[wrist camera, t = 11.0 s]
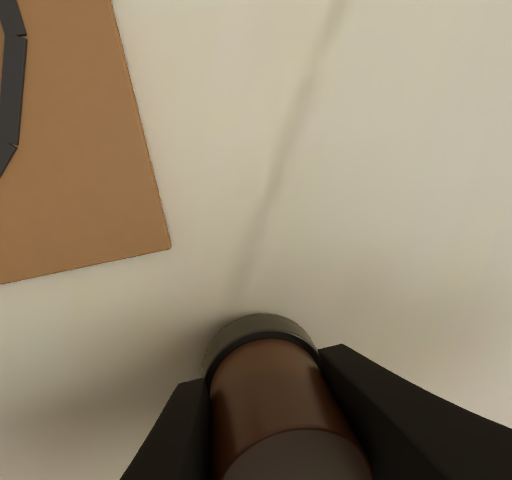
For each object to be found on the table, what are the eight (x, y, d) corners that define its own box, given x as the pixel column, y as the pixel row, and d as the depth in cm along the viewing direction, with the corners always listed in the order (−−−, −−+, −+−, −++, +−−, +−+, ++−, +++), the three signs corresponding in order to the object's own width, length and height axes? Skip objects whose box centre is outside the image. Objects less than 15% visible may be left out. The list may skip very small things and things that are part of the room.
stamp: (334, 379, 10) (413, 512, 6) (239, 436, 10) (259, 605, 6) (282, 291, 9) (336, 379, 6) (179, 352, 9) (160, 484, 5)
